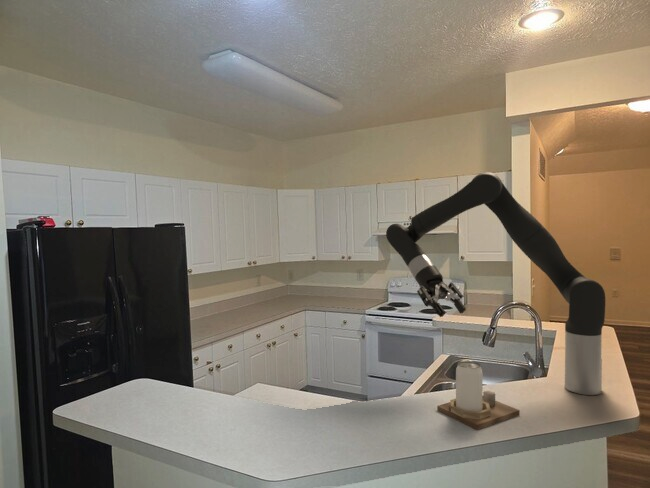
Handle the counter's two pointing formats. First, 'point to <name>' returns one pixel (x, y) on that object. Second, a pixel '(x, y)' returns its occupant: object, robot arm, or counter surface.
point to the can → (469, 386)
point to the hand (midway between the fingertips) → (453, 313)
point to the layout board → (480, 412)
